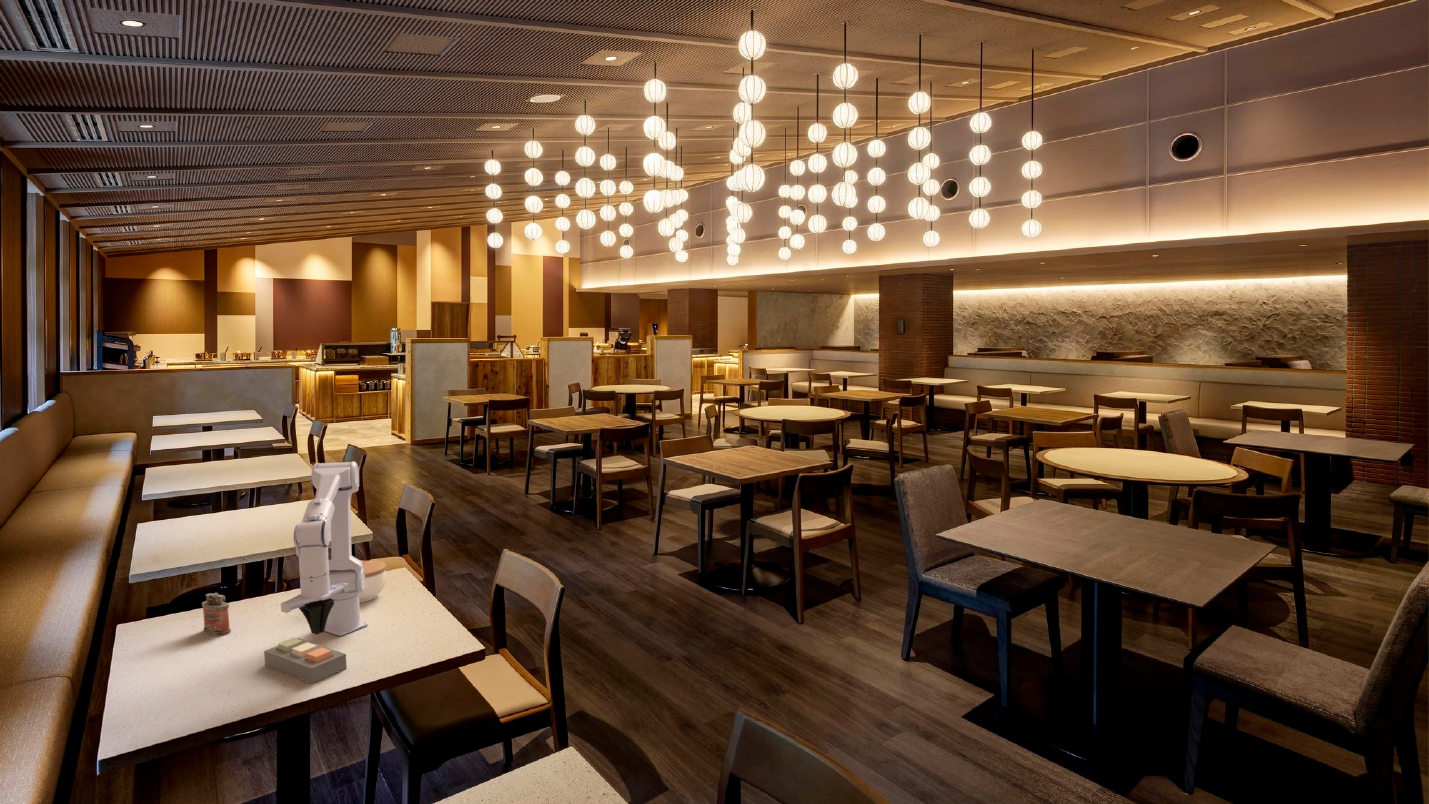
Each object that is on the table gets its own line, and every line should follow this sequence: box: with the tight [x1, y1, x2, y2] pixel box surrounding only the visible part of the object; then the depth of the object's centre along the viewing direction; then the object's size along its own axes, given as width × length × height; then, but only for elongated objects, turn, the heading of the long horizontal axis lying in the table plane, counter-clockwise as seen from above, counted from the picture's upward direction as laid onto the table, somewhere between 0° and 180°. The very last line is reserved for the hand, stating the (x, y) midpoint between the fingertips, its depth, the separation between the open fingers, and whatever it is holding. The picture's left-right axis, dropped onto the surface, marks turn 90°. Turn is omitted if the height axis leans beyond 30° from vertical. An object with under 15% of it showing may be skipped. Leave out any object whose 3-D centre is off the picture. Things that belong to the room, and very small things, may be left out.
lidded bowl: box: [340, 559, 387, 603], centre depth 205 cm, size 13×13×11 cm
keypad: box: [263, 637, 347, 685], centre depth 163 cm, size 18×8×4 cm, turn 62°
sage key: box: [277, 637, 303, 653], centre depth 166 cm, size 4×4×2 cm
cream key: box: [292, 642, 317, 658], centre depth 163 cm, size 4×4×2 cm
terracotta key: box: [306, 647, 332, 664], centre depth 161 cm, size 4×4×2 cm
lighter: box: [201, 592, 231, 637], centre depth 182 cm, size 8×3×10 cm, turn 68°
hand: (317, 632), depth 160 cm, fingers closed
